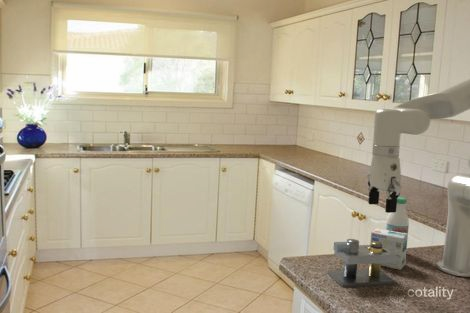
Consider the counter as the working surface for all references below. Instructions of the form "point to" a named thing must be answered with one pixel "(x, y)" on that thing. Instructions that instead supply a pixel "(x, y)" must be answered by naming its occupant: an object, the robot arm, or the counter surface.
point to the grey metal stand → (359, 255)
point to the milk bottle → (398, 218)
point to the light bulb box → (392, 245)
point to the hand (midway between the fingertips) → (381, 208)
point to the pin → (375, 267)
